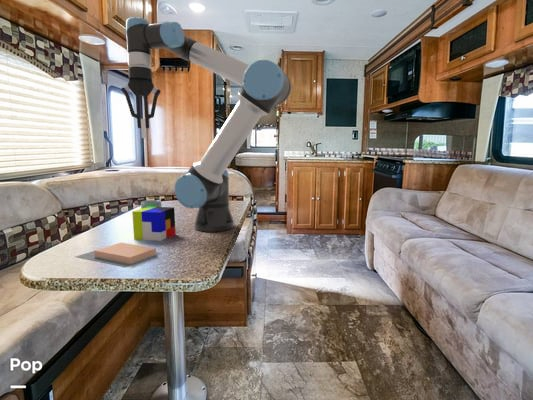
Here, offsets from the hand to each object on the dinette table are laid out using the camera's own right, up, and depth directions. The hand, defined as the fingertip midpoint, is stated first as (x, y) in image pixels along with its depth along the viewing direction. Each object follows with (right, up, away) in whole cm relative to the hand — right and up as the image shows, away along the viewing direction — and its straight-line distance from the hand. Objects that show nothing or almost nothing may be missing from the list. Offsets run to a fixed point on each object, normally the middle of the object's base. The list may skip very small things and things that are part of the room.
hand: (144, 137), depth 117 cm
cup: (-2, -33, +16) cm, 36 cm away
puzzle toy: (+5, -35, -2) cm, 36 cm away
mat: (+1, -38, -23) cm, 44 cm away
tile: (-3, -36, -21) cm, 42 cm away
